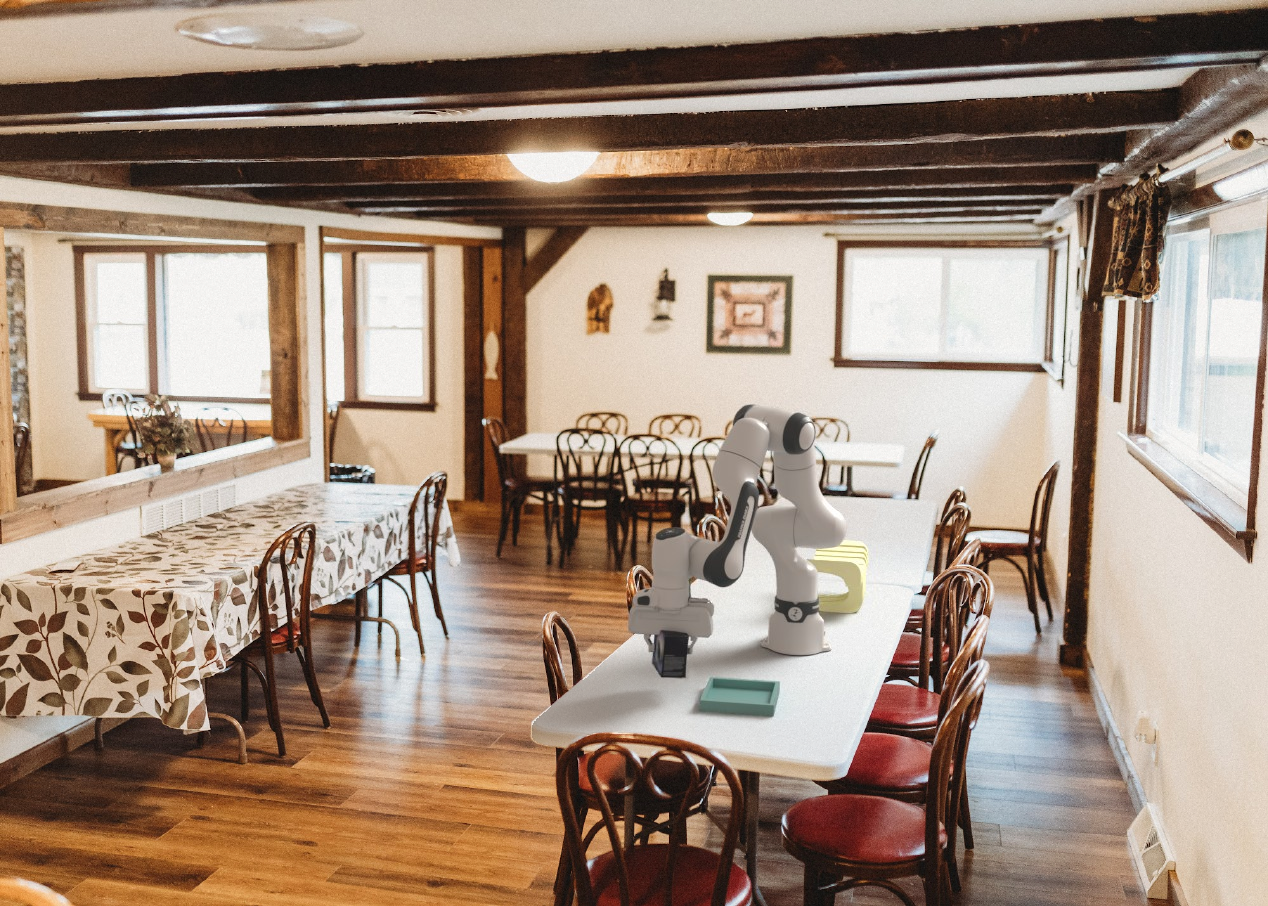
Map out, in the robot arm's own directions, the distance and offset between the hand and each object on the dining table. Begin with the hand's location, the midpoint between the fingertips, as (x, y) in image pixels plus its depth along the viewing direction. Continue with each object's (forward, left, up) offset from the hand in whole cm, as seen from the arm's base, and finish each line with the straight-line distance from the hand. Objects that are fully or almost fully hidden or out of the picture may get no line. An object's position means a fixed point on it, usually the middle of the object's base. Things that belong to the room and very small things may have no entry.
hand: (670, 652), depth 279 cm
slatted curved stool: (-90, +37, -11) cm, 97 cm away
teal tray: (+2, +17, -10) cm, 20 cm away
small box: (0, -1, -5) cm, 5 cm away
